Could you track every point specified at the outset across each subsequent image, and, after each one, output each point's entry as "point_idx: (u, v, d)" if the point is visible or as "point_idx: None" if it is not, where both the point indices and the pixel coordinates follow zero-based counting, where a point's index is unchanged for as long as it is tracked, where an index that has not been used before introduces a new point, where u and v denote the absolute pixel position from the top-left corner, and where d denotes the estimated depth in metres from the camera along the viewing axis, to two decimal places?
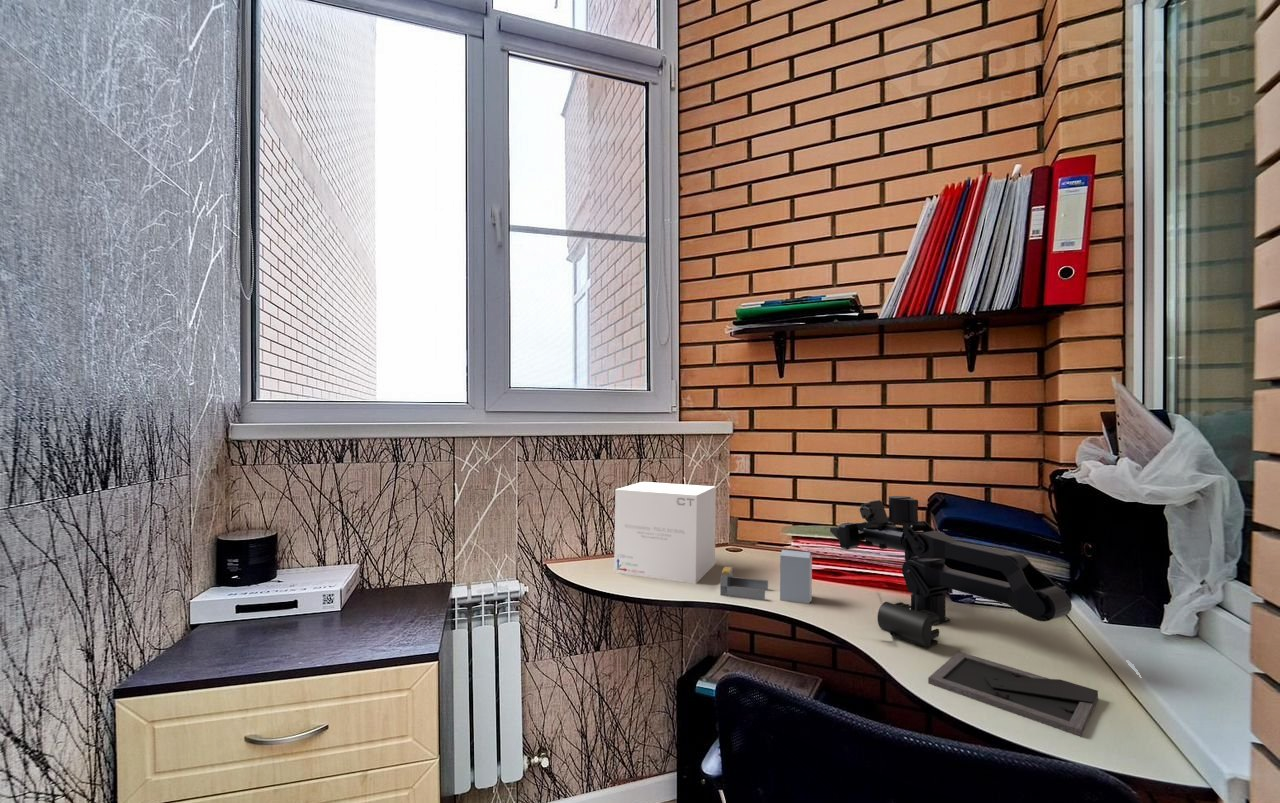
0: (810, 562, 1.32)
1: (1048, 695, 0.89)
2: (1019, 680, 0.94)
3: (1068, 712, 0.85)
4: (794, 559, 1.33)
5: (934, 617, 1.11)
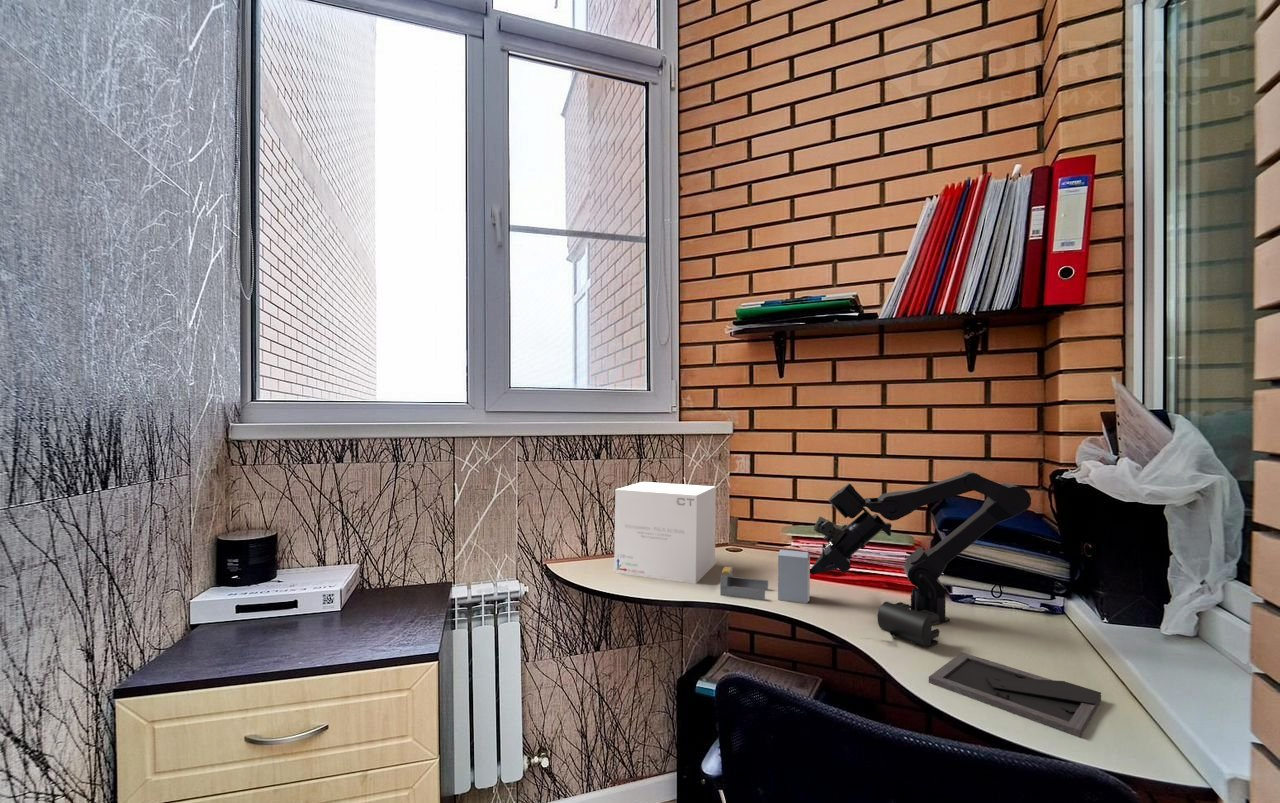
0: (808, 562, 1.32)
1: (1049, 696, 0.89)
2: (1021, 681, 0.94)
3: (1069, 713, 0.85)
4: (792, 559, 1.33)
5: (934, 617, 1.11)
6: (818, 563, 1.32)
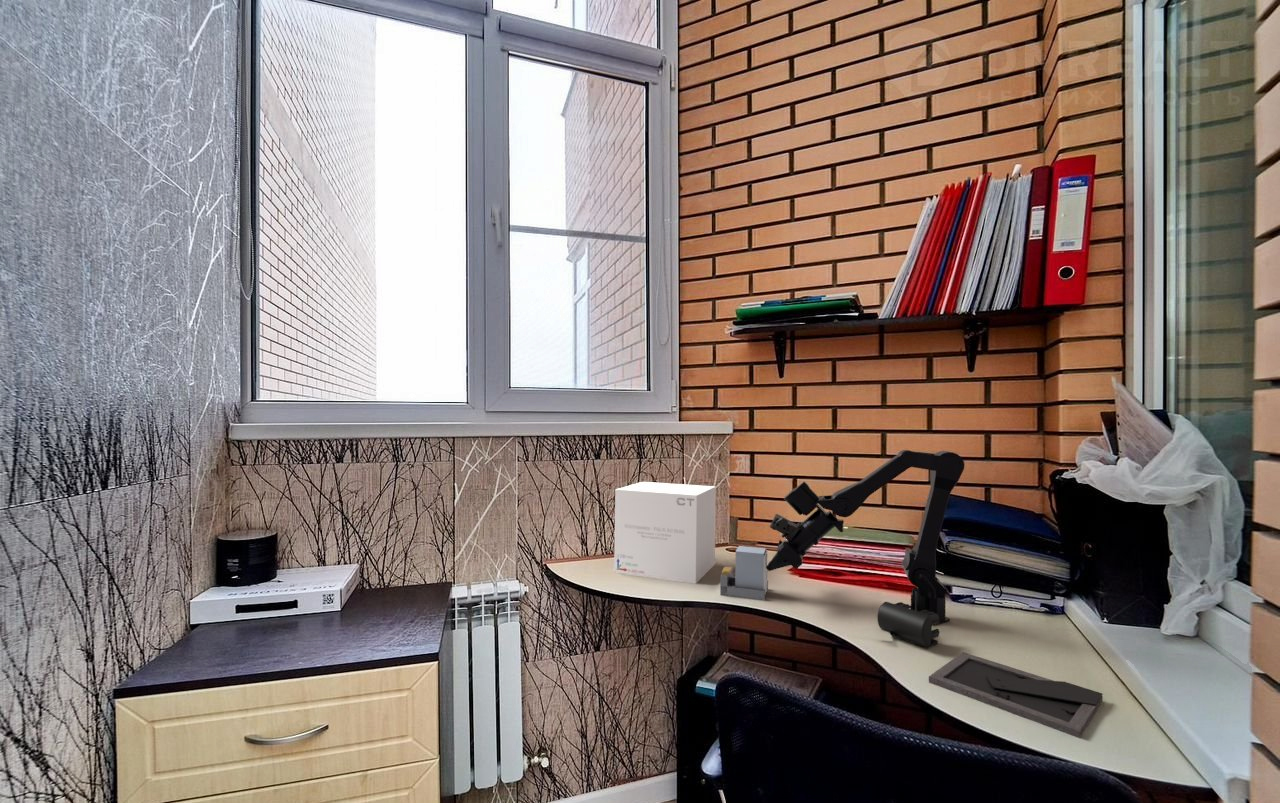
0: (764, 558, 1.35)
1: (1050, 696, 0.89)
2: (1022, 681, 0.94)
3: (1069, 713, 0.85)
4: (749, 555, 1.36)
5: (934, 617, 1.11)
6: (774, 559, 1.36)
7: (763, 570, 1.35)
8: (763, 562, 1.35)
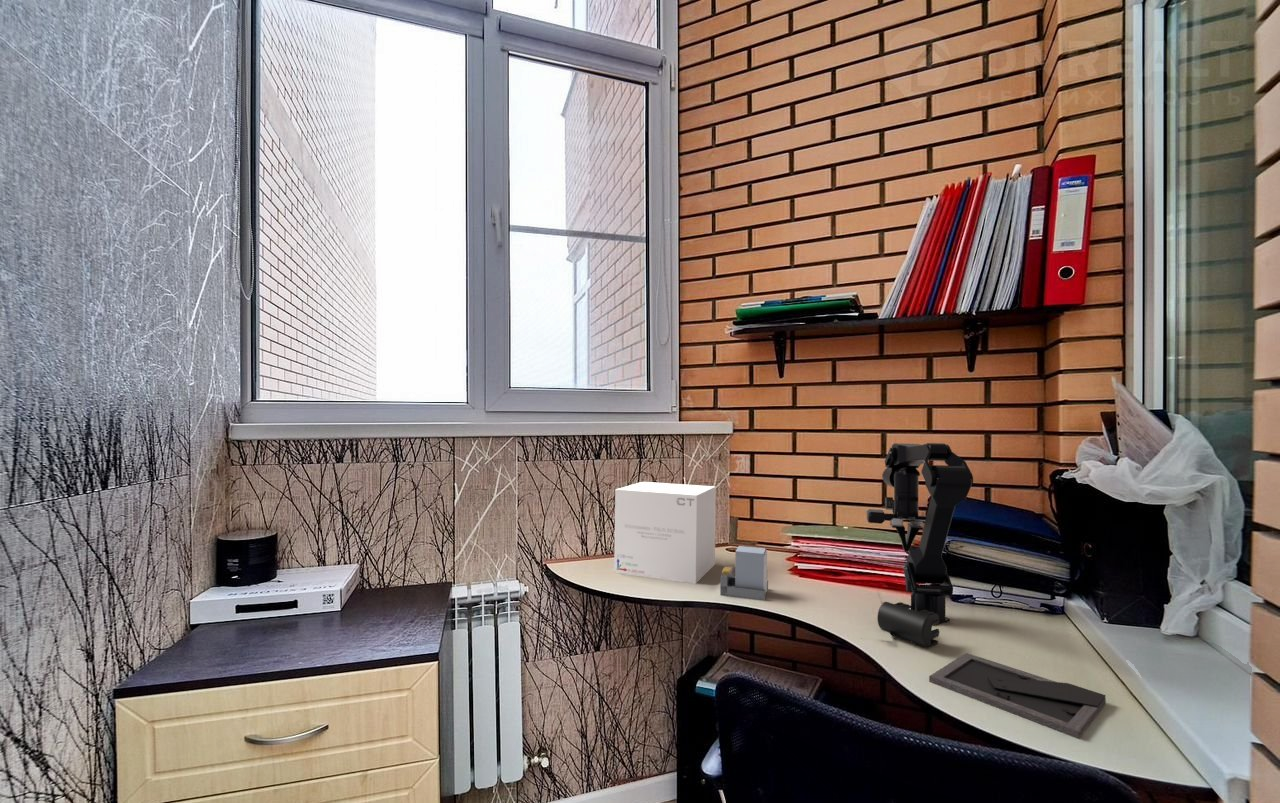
0: (764, 558, 1.35)
1: (1051, 697, 0.88)
2: (1024, 682, 0.93)
3: (1069, 714, 0.84)
4: (748, 555, 1.36)
5: (934, 617, 1.11)
6: None
7: (763, 570, 1.35)
8: (763, 562, 1.35)
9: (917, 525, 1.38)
